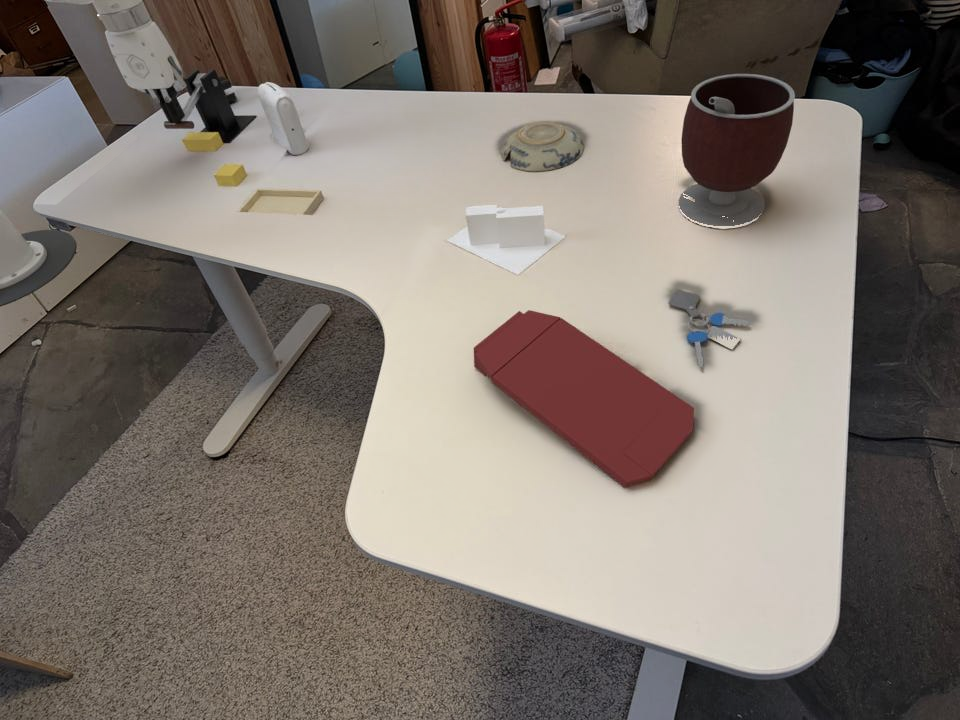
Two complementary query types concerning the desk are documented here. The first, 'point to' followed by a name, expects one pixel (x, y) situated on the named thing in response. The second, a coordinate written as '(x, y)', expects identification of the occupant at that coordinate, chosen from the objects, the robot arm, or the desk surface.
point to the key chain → (718, 319)
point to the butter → (202, 141)
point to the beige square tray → (283, 201)
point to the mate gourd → (733, 145)
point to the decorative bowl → (542, 147)
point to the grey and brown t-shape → (188, 106)
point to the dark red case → (586, 395)
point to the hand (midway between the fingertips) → (177, 119)
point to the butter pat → (230, 175)
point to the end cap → (226, 85)
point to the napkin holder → (506, 235)
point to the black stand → (217, 107)
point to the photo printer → (282, 118)
